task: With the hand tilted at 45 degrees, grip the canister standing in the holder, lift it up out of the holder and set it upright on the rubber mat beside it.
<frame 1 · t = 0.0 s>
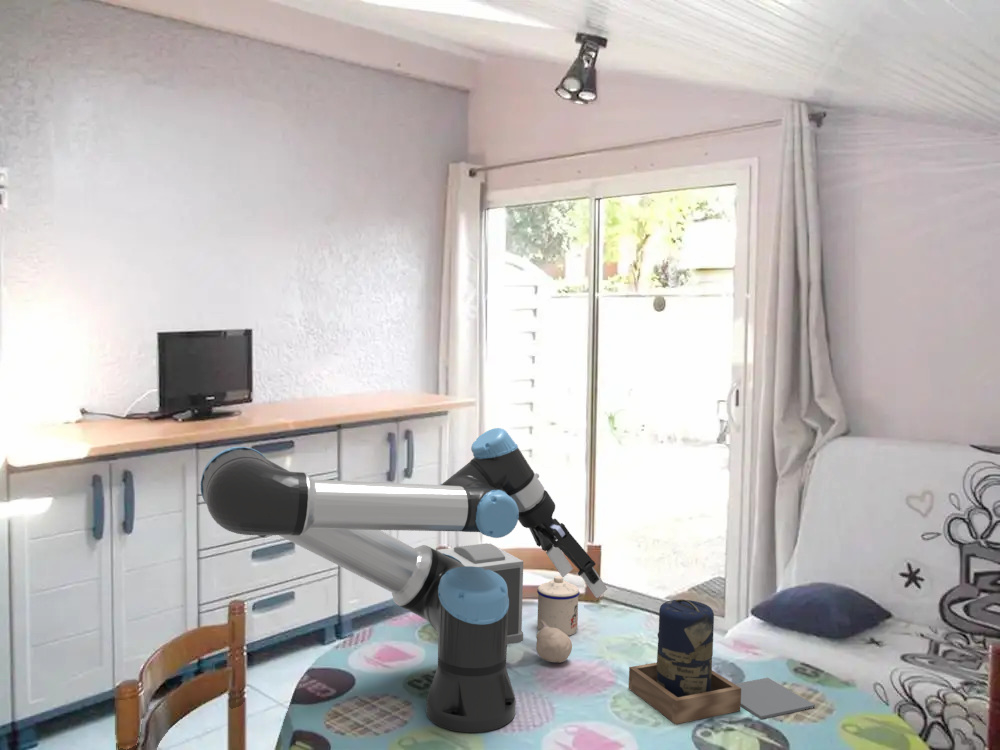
hand: (583, 582, 167), 15 cm above the table, tool tilted 35°, fingers open, 13 cm apart
alarm clock: (477, 632, 181), on the table
garlic bulb: (553, 662, 166), on the table
teacup with lid: (556, 628, 184), on the table
mat: (764, 698, 152), on the table
canister: (682, 700, 151), resting in holder
holder: (682, 699, 151), on the table
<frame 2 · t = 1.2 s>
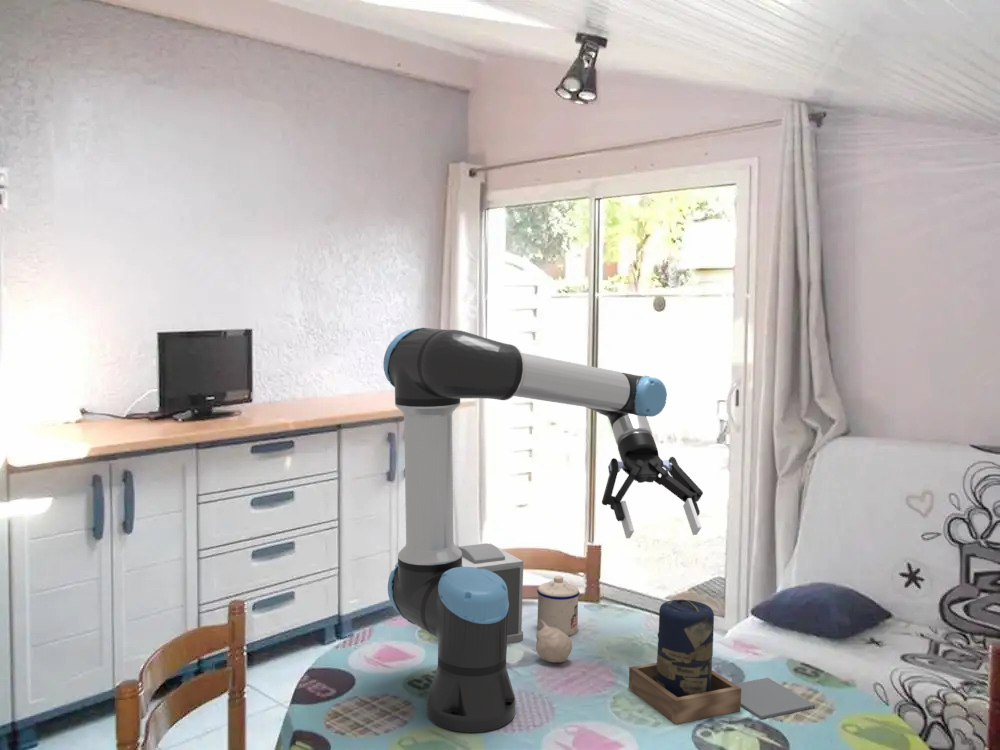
hand: (664, 533, 159), 27 cm above the table, tool tilted 45°, fingers open, 13 cm apart
nothing on the table moved.
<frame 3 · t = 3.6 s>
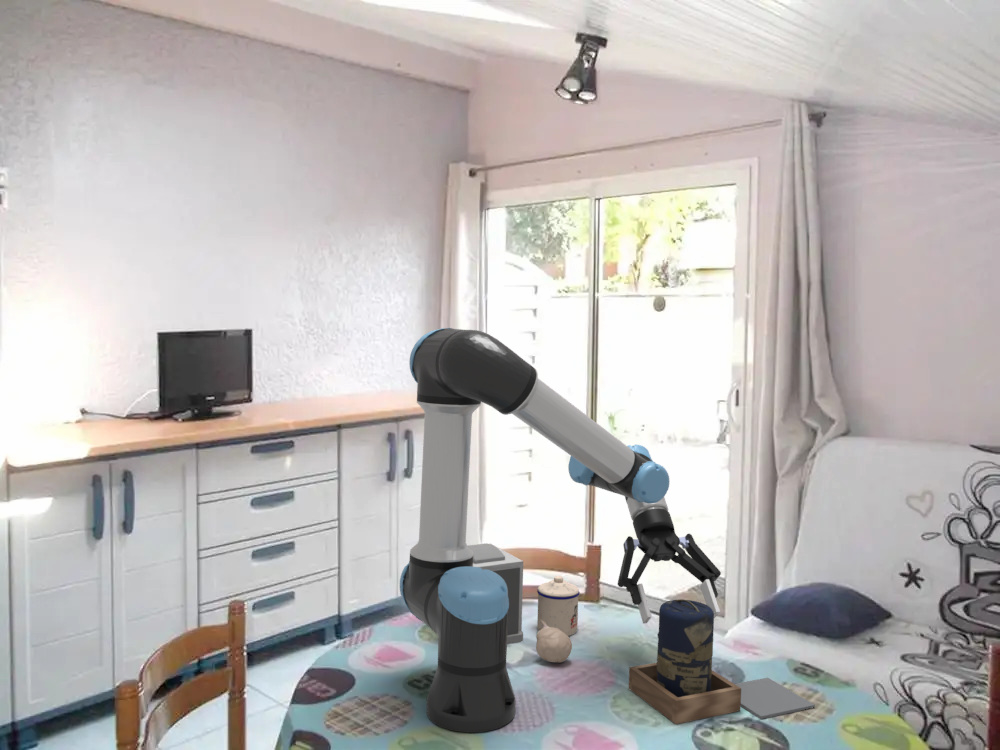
hand: (681, 617, 154), 13 cm above the table, tool tilted 45°, fingers open, 13 cm apart
nothing on the table moved.
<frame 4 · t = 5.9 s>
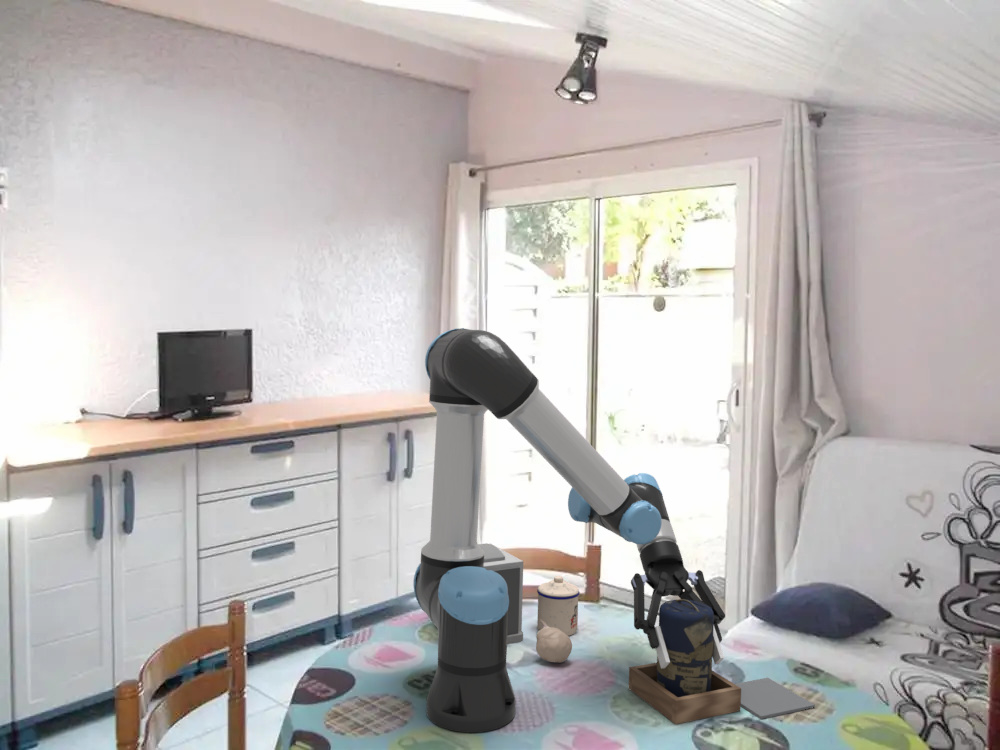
hand: (692, 663, 147), 8 cm above the table, tool tilted 45°, fingers closed on canister, 9 cm apart
canister: (682, 700, 151), resting in holder, touching gripper
everything else where it was.
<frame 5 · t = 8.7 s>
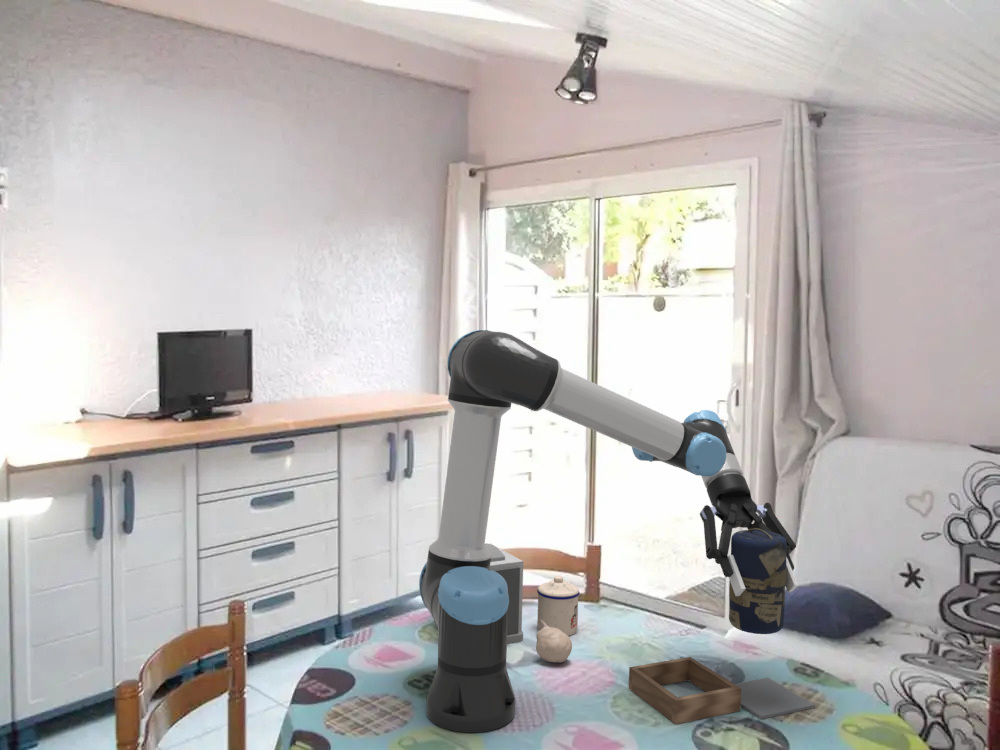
hand: (767, 590, 147), 21 cm above the table, tool tilted 45°, fingers closed on canister, 9 cm apart
canister: (755, 629, 151), point 13 cm above the table, touching gripper
everything else where it was.
when the fingers open (10 cm above the table, at t = 11.9 s): canister drops 1 cm, resting on mat.
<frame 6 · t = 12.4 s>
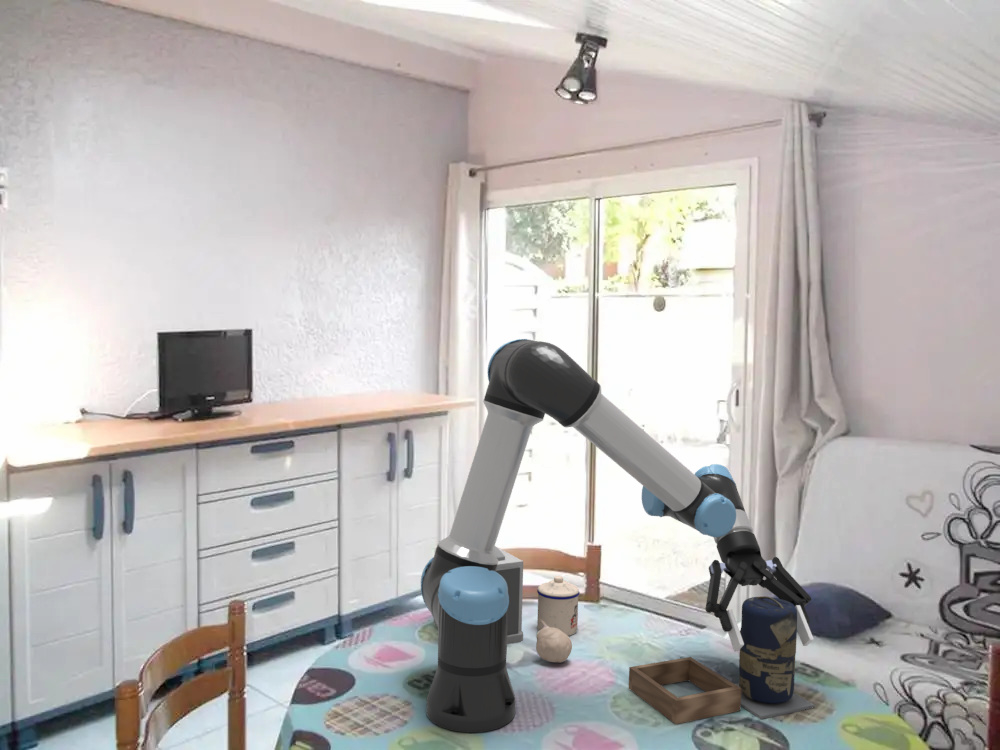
hand: (774, 645, 149), 11 cm above the table, tool tilted 45°, fingers open, 13 cm apart
canister: (765, 696, 152), resting on mat
everything else where it was.
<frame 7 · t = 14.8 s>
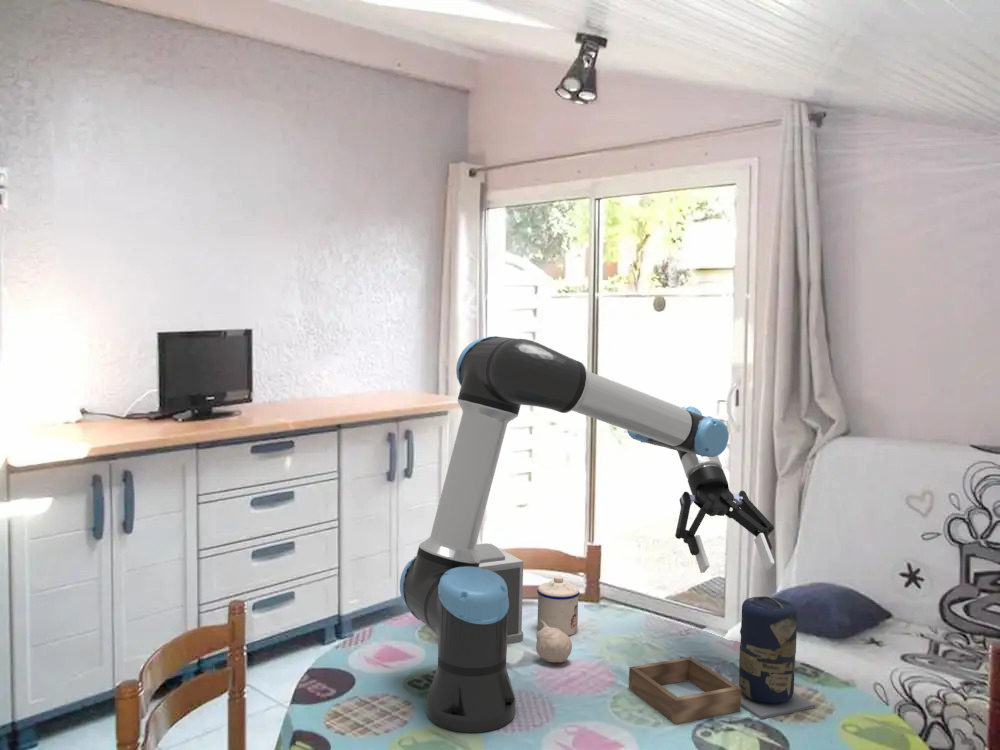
hand: (738, 568, 161), 21 cm above the table, tool tilted 45°, fingers open, 13 cm apart
nothing on the table moved.
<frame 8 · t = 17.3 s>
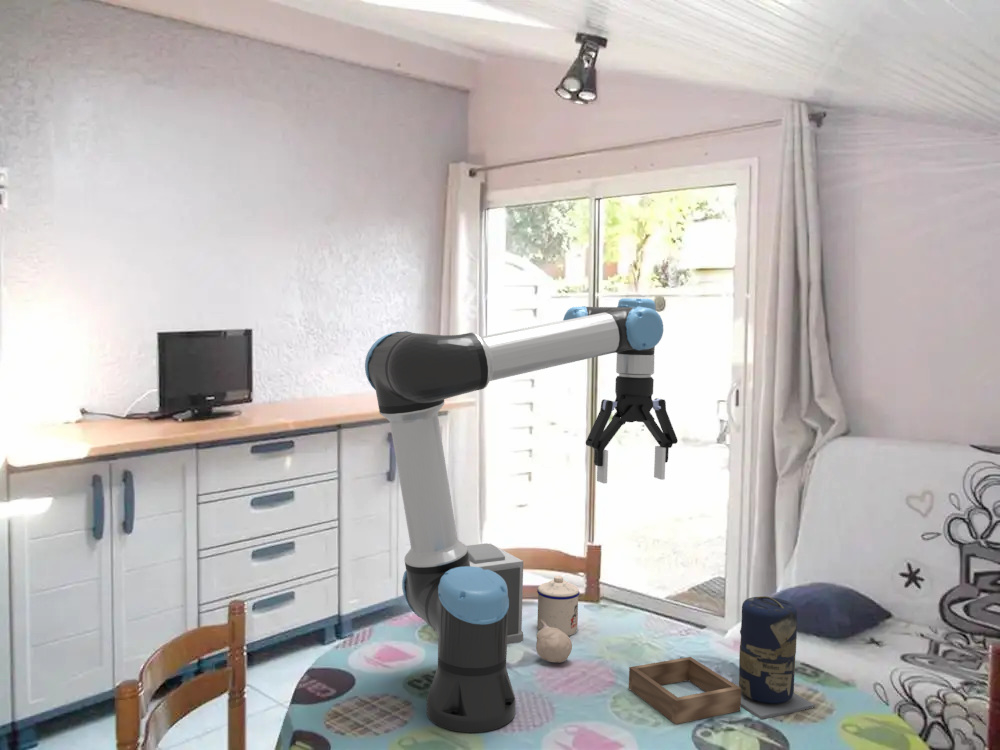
hand: (631, 480, 171), 35 cm above the table, tool pointing down, fingers open, 13 cm apart
nothing on the table moved.
at the end: canister inside the target area on the mat (0.2 cm from its centre), point 0.3 cm above the mat's base; canister tilted 0°; the gripper is holding nothing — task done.
